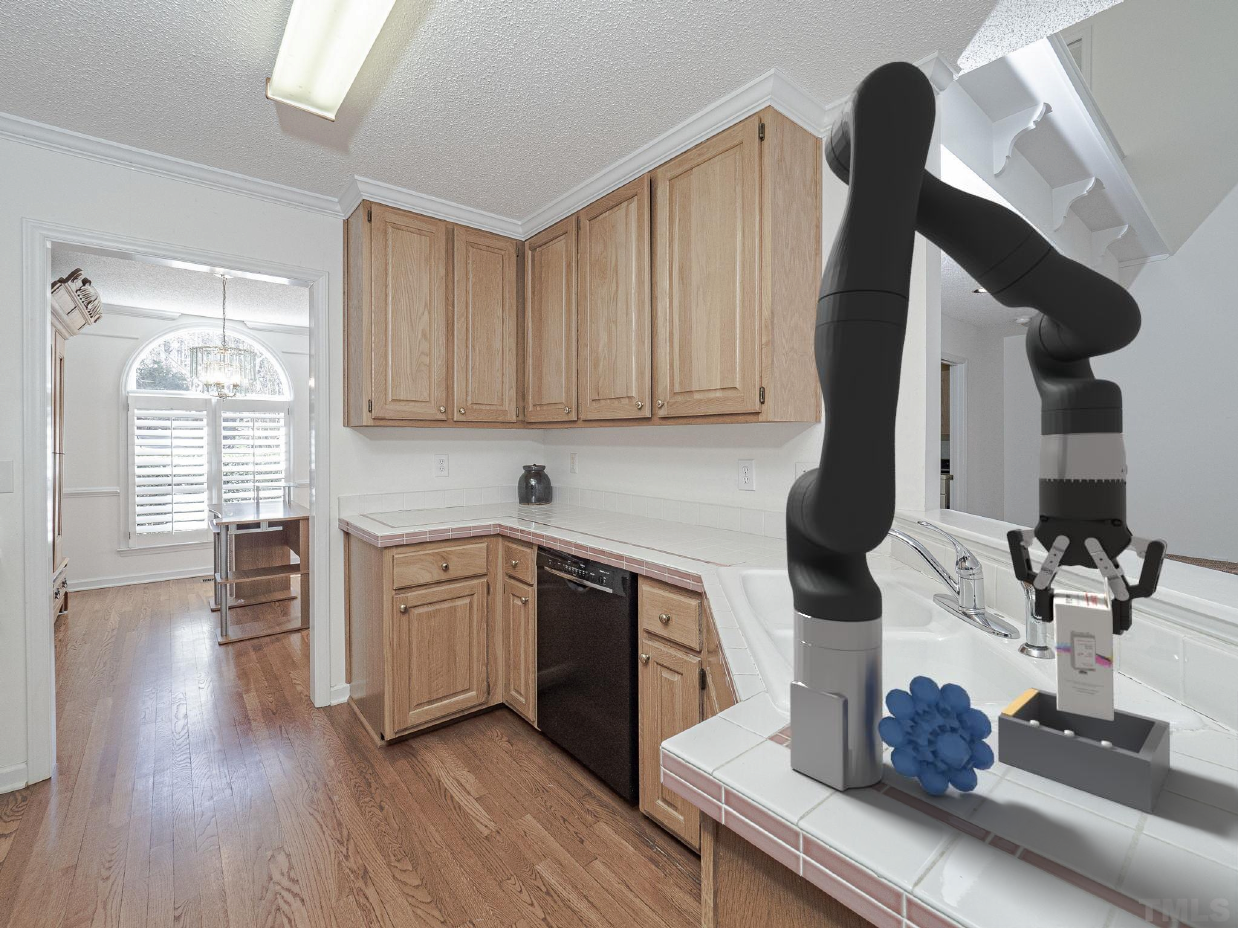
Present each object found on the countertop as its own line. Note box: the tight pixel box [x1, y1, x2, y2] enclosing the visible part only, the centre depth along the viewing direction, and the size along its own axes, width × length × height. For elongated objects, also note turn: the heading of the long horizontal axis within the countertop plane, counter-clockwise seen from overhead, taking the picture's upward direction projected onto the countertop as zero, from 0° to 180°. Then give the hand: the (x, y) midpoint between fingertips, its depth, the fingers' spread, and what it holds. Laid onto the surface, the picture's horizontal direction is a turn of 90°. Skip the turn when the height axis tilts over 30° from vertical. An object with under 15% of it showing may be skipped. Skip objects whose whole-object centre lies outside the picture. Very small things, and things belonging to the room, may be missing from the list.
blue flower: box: [878, 675, 995, 796], centre depth 56 cm, size 12×7×12 cm, turn 90°
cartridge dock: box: [997, 687, 1171, 815], centre depth 63 cm, size 13×13×5 cm
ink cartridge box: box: [1053, 577, 1115, 721], centre depth 63 cm, size 9×5×15 cm, turn 143°
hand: (1081, 626), depth 63 cm, fingers closed on ink cartridge box, 5 cm apart
